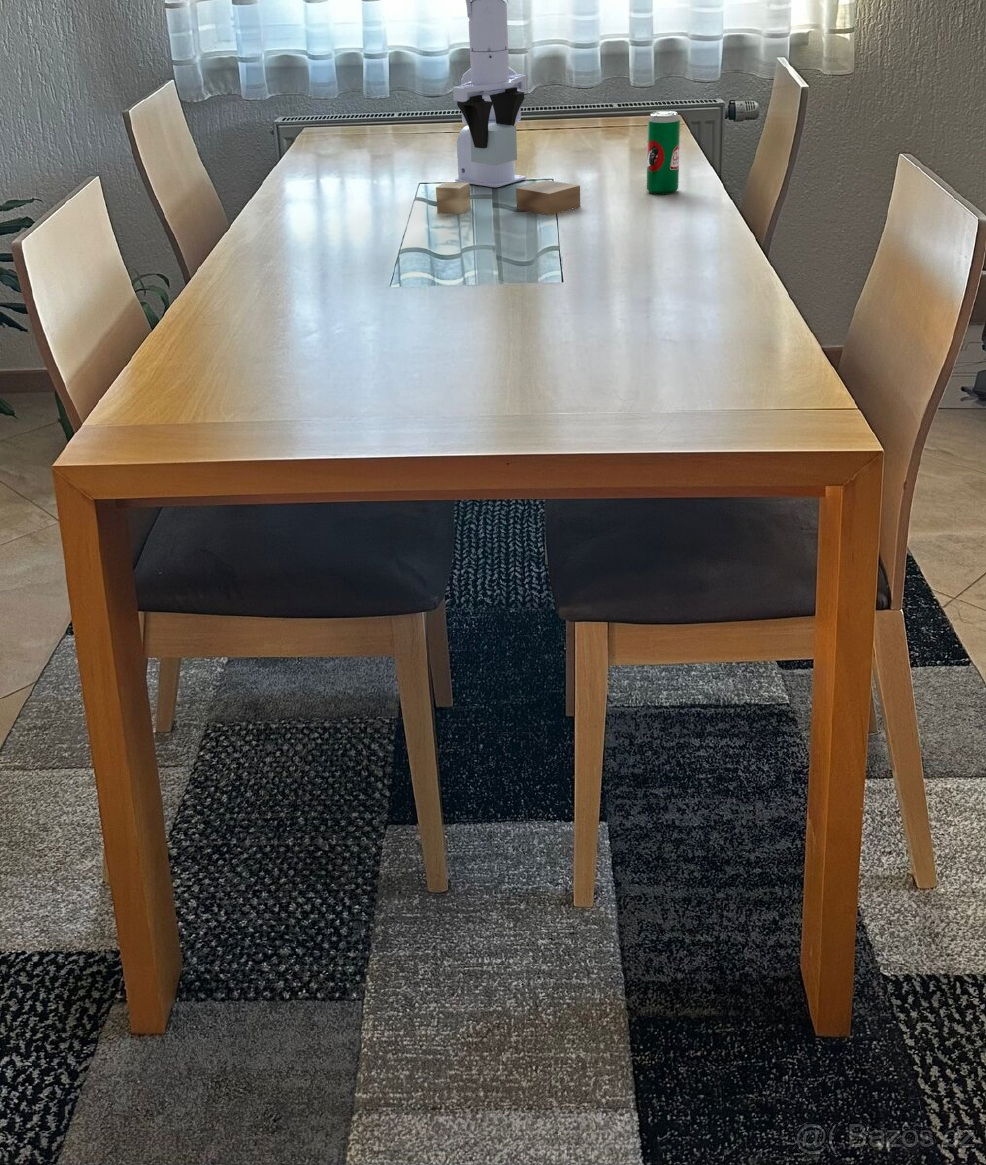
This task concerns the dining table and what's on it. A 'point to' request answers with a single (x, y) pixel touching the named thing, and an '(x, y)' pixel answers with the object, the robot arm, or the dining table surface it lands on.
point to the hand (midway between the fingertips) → (492, 144)
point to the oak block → (453, 197)
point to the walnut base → (548, 197)
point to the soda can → (663, 152)
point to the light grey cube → (497, 146)
